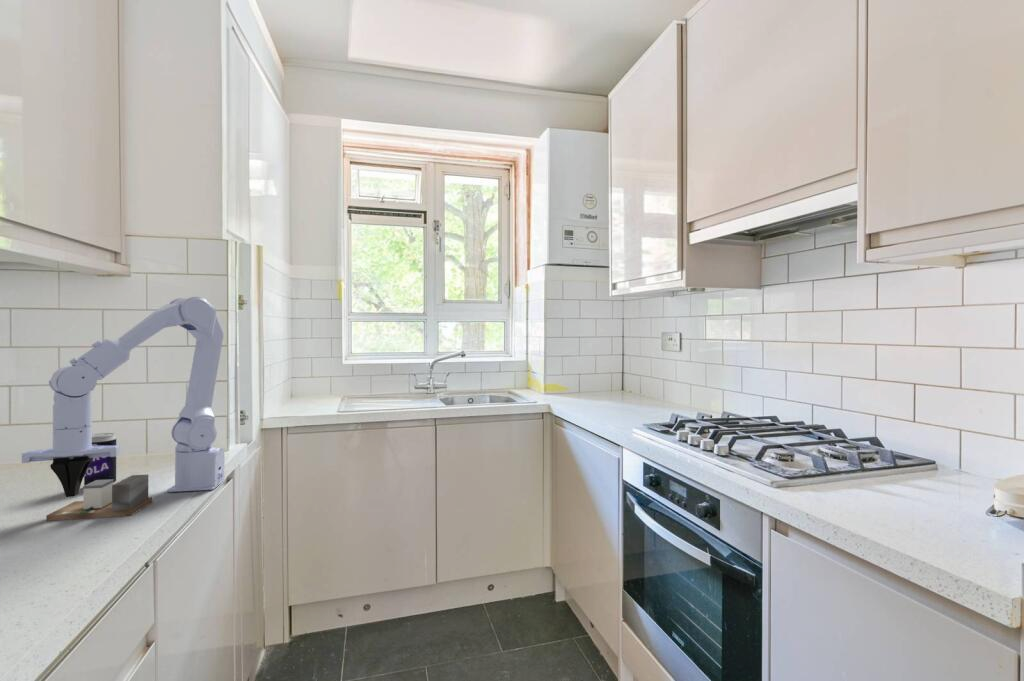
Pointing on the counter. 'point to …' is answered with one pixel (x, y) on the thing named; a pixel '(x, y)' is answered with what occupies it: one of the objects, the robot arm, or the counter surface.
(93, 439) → the beverage can
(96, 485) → the block
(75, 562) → the counter surface
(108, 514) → the frame
